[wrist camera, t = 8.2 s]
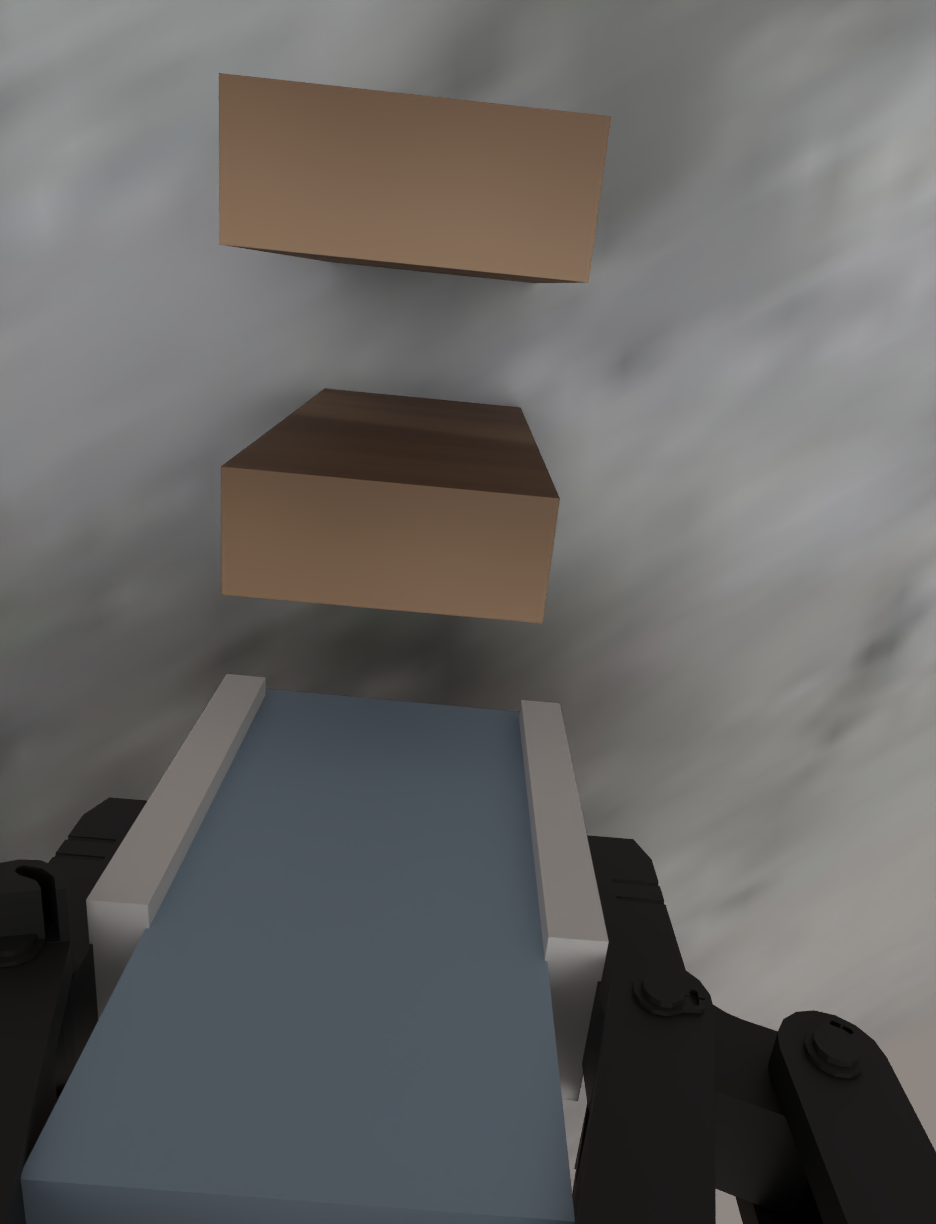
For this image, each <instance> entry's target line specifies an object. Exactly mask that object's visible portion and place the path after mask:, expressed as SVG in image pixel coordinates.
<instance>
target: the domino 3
mask: <svg viewBox="0 0 936 1224" xmlns="http://www.w3.org/2000/svg"><path fill="white" fill-rule="evenodd" d="M519 713H520V712H515V711H504V710H493V709H482V708H471V707H461V706H450V705H439V704H428V703H417V702H406V701H396V700H385V699H374V698H363V697H352V696H342V695H331V694H320V693H309V692H298V691H287V690H277V689H267V691H266V694H265V697H264V699H263V701H262V703H261V705H260V707H259V709H258V711H257V713H256V715H255V717H254V719H253V721H252V723H251V725H250V727H249V729H248V731H247V733H246V735H245V737H244V739H243V741H242V743H241V745H240V747H239V749H238V751H237V753H236V755H235V757H234V759H233V761H232V763H231V765H230V767H229V769H228V771H227V773H226V775H225V777H224V779H223V781H222V783H221V785H220V787H219V789H218V791H217V793H216V795H215V797H214V799H213V801H212V803H211V805H210V807H209V809H208V811H207V813H206V815H205V817H204V819H203V821H202V823H201V825H200V827H199V829H198V831H197V833H196V835H195V837H194V839H193V841H192V843H191V845H190V847H189V849H188V851H187V853H186V855H185V857H184V859H183V861H182V863H181V865H180V867H179V869H178V871H177V873H176V875H175V877H174V879H173V881H172V883H171V885H170V887H169V889H168V891H167V893H166V895H165V897H164V899H163V901H162V903H161V905H160V907H159V909H158V911H157V913H156V915H155V918H154V920H153V922H152V924H151V926H150V928H145V930H144V932H143V934H142V936H141V938H140V940H139V942H138V944H137V946H136V948H135V950H134V952H133V954H132V956H131V958H130V960H129V962H128V964H127V966H126V967H125V969H124V971H123V973H122V975H121V977H120V979H119V981H118V983H117V985H116V987H115V989H114V991H113V993H112V995H111V997H110V999H109V1001H108V1003H107V1005H106V1007H105V1009H104V1011H103V1013H102V1014H101V1016H100V1018H99V1020H98V1022H97V1024H96V1026H95V1028H94V1030H93V1032H92V1034H91V1036H90V1038H89V1040H88V1042H87V1044H86V1046H85V1048H84V1050H83V1052H82V1054H81V1056H80V1058H79V1060H78V1061H77V1063H76V1065H75V1067H74V1069H73V1071H72V1073H71V1075H70V1077H69V1079H68V1081H67V1083H66V1085H65V1087H64V1089H63V1091H62V1093H61V1095H60V1097H59V1099H58V1101H57V1103H56V1105H55V1107H54V1108H53V1110H52V1112H51V1114H50V1116H49V1118H48V1120H47V1122H46V1124H45V1126H44V1128H43V1130H42V1132H41V1134H40V1136H39V1138H38V1140H37V1142H36V1144H35V1146H34V1148H33V1150H32V1152H31V1154H30V1156H29V1157H28V1159H27V1161H26V1163H25V1165H24V1167H23V1171H22V1175H21V1186H22V1194H23V1202H24V1210H25V1219H26V1224H575V1217H574V1208H573V1198H572V1189H571V1179H570V1170H569V1161H568V1151H567V1142H566V1132H565V1123H564V1114H563V1104H562V1095H561V1085H560V1076H559V1067H558V1057H557V1048H556V1039H555V1029H554V1020H553V1010H552V1001H551V992H550V982H549V973H548V963H547V961H545V958H544V949H543V939H542V930H541V921H540V911H539V902H538V893H537V883H536V874H535V864H534V855H533V846H532V836H531V827H530V818H529V808H528V799H527V790H526V780H525V771H524V761H523V752H522V743H521V733H520V724H519Z"/></svg>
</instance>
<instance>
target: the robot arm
mask: <svg viewBox="0 0 936 1224" xmlns="http://www.w3.org/2000/svg"><path fill="white" fill-rule="evenodd" d="M265 694H266V677H256V676H245V675H233V674H226V676H225V677H224V679H223V680H222V682H221V684H220V685H219V687H218V688H217V690H216V692H215V693H214V695H213V696H212V698H211V700H210V701H209V703H208V704H207V706H206V708H205V709H204V711H203V713H202V714H201V716H200V717H199V719H198V721H197V722H196V724H195V725H194V727H193V729H192V730H191V732H190V733H189V735H188V737H187V738H186V740H185V742H184V743H183V745H182V746H181V748H180V750H179V751H178V753H177V754H176V756H175V758H174V759H173V761H172V762H171V764H170V766H169V767H168V769H167V770H166V772H165V774H164V775H163V777H162V779H161V780H160V782H159V783H158V785H157V787H156V788H155V790H154V791H153V793H152V795H151V796H150V798H149V799H148V801H145V800H133V799H121V798H108V799H107V800H105V801H103V802H102V803H100V804H99V805H97V806H96V807H94V808H93V809H91V810H90V811H88V812H87V813H85V814H84V815H83V816H82V817H81V819H80V820H79V822H78V823H77V824H76V826H75V827H74V828H73V830H72V831H71V833H70V834H69V835H68V840H65V841H64V842H63V844H62V845H61V846H60V848H59V849H58V851H57V852H56V856H55V857H52V859H51V860H50V862H49V863H46V862H43V861H41V860H14V861H9V862H3V863H0V1224H26V1219H25V1210H24V1202H23V1194H22V1186H21V1175H22V1171H23V1167H24V1165H25V1163H26V1161H27V1159H28V1157H29V1156H30V1154H31V1152H32V1150H33V1148H34V1146H35V1144H36V1142H37V1140H38V1138H39V1136H40V1134H41V1132H42V1130H43V1128H44V1126H45V1124H46V1122H47V1120H48V1118H49V1116H50V1114H51V1112H52V1110H53V1108H54V1107H55V1105H56V1103H57V1101H58V1099H59V1097H60V1095H61V1093H62V1091H63V1089H64V1087H65V1085H66V1083H67V1081H68V1079H69V1077H70V1075H71V1073H72V1071H73V1069H74V1067H75V1065H76V1063H77V1061H78V1060H79V1058H80V1056H81V1054H82V1052H83V1050H84V1048H85V1046H86V1044H87V1042H88V1040H89V1038H90V1036H91V1034H92V1032H93V1030H94V1028H95V1026H96V1024H97V1022H98V1020H99V1018H100V1016H101V1014H102V1013H103V1011H104V1009H105V1007H106V1005H107V1003H108V1001H109V999H110V997H111V995H112V993H113V991H114V989H115V987H116V985H117V983H118V981H119V979H120V977H121V975H122V973H123V971H124V969H125V967H126V966H127V964H128V962H129V960H130V958H131V956H132V954H133V952H134V950H135V948H136V946H137V944H138V942H139V940H140V938H141V936H142V934H143V932H144V930H145V928H150V926H151V924H152V922H153V920H154V918H155V915H156V913H157V911H158V909H159V907H160V905H161V903H162V901H163V899H164V897H165V895H166V893H167V891H168V889H169V887H170V885H171V883H172V881H173V879H174V877H175V875H176V873H177V871H178V869H179V867H180V865H181V863H182V861H183V859H184V857H185V855H186V853H187V851H188V849H189V847H190V845H191V843H192V841H193V839H194V837H195V835H196V833H197V831H198V829H199V827H200V825H201V823H202V821H203V819H204V817H205V815H206V813H207V811H208V809H209V807H210V805H211V803H212V801H213V799H214V797H215V795H216V793H217V791H218V789H219V787H220V785H221V783H222V781H223V779H224V777H225V775H226V773H227V771H228V769H229V767H230V765H231V763H232V761H233V759H234V757H235V755H236V753H237V751H238V749H239V747H240V745H241V743H242V741H243V739H244V737H245V735H246V733H247V731H248V729H249V727H250V725H251V723H252V721H253V719H254V717H255V715H256V713H257V711H258V709H259V707H260V705H261V703H262V701H263V699H264V697H265ZM519 724H520V733H521V743H522V752H523V761H524V771H525V780H526V790H527V799H528V808H529V818H530V827H531V836H532V846H533V855H534V864H535V874H536V883H537V893H538V902H539V911H540V921H541V930H542V939H543V949H544V958H545V961H547V963H548V973H549V982H550V992H551V1001H552V1010H553V1020H554V1029H555V1039H556V1048H557V1057H558V1067H559V1076H560V1085H561V1095H562V1100H574V1101H578V1098H579V1093H580V1088H581V1083H582V1078H583V1075H584V1082H585V1089H586V1096H587V1107H586V1113H585V1118H584V1123H583V1128H582V1133H581V1138H580V1143H579V1148H578V1153H577V1158H576V1163H575V1168H574V1169H576V1173H575V1180H574V1186H573V1193H572V1198H573V1208H574V1217H575V1224H715V1223H716V1222H715V1188H716V1189H719V1190H721V1191H723V1192H726V1193H728V1194H731V1195H734V1196H736V1200H737V1204H738V1207H739V1211H740V1214H741V1218H742V1222H743V1224H936V1152H935V1150H934V1148H933V1146H932V1144H931V1142H930V1140H929V1138H928V1136H927V1134H926V1132H925V1130H924V1129H923V1127H922V1125H921V1123H920V1121H919V1119H918V1117H917V1115H916V1113H915V1111H914V1109H913V1107H912V1105H911V1103H910V1102H909V1100H908V1098H907V1096H906V1094H905V1092H904V1090H903V1088H902V1086H901V1084H900V1082H899V1080H898V1078H897V1076H896V1074H895V1073H894V1071H893V1069H892V1067H891V1065H890V1063H889V1061H888V1059H887V1057H886V1056H885V1055H884V1053H883V1052H882V1050H881V1049H880V1048H879V1046H878V1045H877V1044H876V1042H875V1041H874V1040H873V1039H872V1038H871V1037H869V1036H868V1035H867V1034H866V1033H864V1032H863V1031H862V1030H861V1029H859V1028H858V1027H857V1026H856V1025H854V1024H852V1023H850V1022H847V1021H845V1020H843V1019H841V1018H839V1017H837V1016H835V1015H831V1014H827V1013H823V1012H818V1011H802V1012H795V1013H794V1014H792V1015H790V1016H788V1017H787V1018H785V1019H783V1021H782V1024H781V1026H780V1028H779V1030H778V1032H777V1031H774V1030H772V1029H769V1028H766V1027H763V1026H760V1025H757V1024H754V1023H751V1022H748V1021H745V1020H742V1019H740V1018H737V1017H735V1016H732V1015H730V1014H728V1013H726V1012H724V1011H722V1010H721V1009H719V1008H718V1007H716V1006H714V1005H713V1004H712V1000H711V996H710V994H709V993H708V991H707V990H706V989H705V987H704V986H703V985H702V983H701V982H700V981H699V980H698V979H697V978H695V977H694V976H693V975H691V974H690V973H689V972H687V971H686V970H685V967H684V963H683V960H682V957H681V954H680V950H679V947H678V944H677V941H676V937H675V934H674V931H673V928H672V924H671V921H670V918H669V915H668V911H667V908H666V905H664V898H663V895H662V892H661V889H660V886H658V879H657V876H656V872H655V869H654V866H653V863H652V860H651V859H650V857H649V856H648V855H647V854H646V853H645V852H644V851H643V850H642V849H641V847H640V846H639V845H638V844H637V843H636V842H635V841H634V840H633V839H623V838H611V837H599V836H588V835H587V834H586V829H585V824H584V819H583V814H582V810H581V805H580V800H579V795H578V790H577V785H576V780H575V775H574V771H573V766H572V761H571V756H570V751H569V746H568V741H567V736H566V732H565V727H564V722H563V717H562V712H561V707H560V703H550V702H539V701H527V700H521V706H520V713H519Z"/></svg>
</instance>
